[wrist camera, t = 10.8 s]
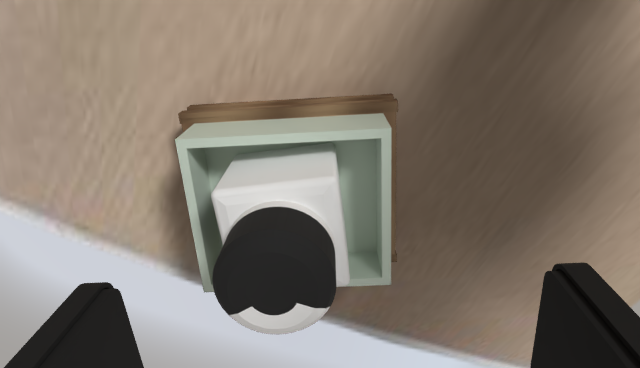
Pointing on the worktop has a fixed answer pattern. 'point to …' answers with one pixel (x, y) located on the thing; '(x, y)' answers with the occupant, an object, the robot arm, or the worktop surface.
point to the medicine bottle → (280, 238)
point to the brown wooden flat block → (302, 110)
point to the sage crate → (263, 135)
